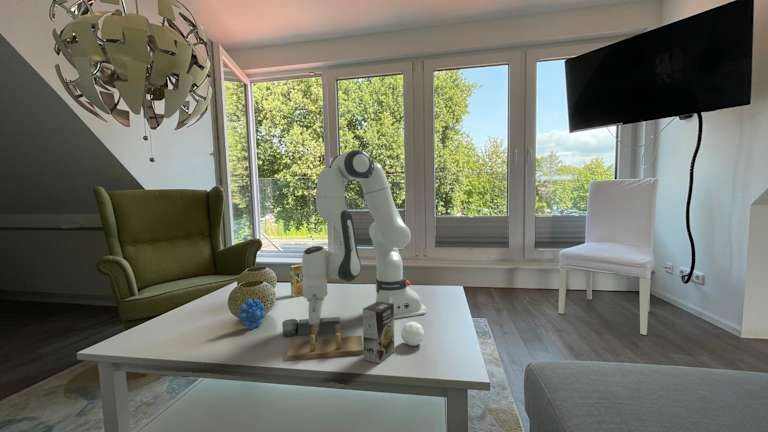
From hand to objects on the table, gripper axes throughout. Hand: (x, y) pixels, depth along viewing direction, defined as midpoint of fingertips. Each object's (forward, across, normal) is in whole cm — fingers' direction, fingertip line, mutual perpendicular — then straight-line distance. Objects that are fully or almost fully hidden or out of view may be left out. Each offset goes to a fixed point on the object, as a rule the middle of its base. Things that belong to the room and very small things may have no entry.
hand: (316, 327), depth 132 cm
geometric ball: (+2, -16, -33) cm, 37 cm away
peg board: (+2, -15, -4) cm, 16 cm away
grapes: (+2, +7, +24) cm, 25 cm away
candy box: (+2, +48, +11) cm, 49 cm away
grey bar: (+2, 0, +2) cm, 3 cm away
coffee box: (+2, -22, -21) cm, 31 cm away
